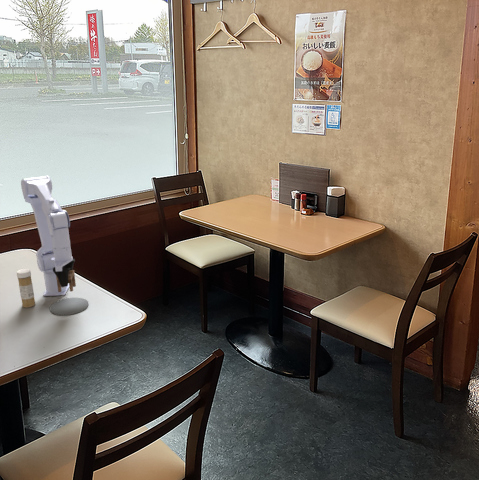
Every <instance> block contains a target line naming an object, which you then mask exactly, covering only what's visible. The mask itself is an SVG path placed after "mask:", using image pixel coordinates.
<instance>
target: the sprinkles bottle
mask: <svg viewBox="0 0 479 480" xmlns="http://www.w3.org/2000/svg"><path fill="white" fill-rule="evenodd" d="M16 276H17V281H18V286H19V287H18V288H19V293H20V298H21V306H22V307H23V308H32V307H34V306H35V305H36V300H35V293H34V287H33V286H34V285H33V282H32V271H31V269H29V268H21V269H18V270H17V271H16Z"/></svg>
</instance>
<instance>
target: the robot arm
mask: <svg viewBox="0 0 479 480" xmlns="http://www.w3.org/2000/svg"><path fill="white" fill-rule="evenodd" d="M20 186H21V191H22V196H23V199H24V202H25V203H28V204H30V205H31V208H32V211H33V215H34V219H35V223H36V227H37V230H38V231H37V232H38V235H39V238H40V242H41V243H40V244H41V247H40V248H39V249H37V251H36V254H35V257H36V262H37V267H38V269H39V271H40V272H41V273H43V277H44V284H45V285H44V286H45V291H44V293H42V294H43V295H42V296H43V297H51V296H52V297H53V296H65V295H66V294H67V292H68V290H69V289H70V287H69V283H68V275H69V270H74V269H73V268H74V266H75V265H74V264H75V262H76V260H75V258H73V256H72V254H73V253H72V249H71V247H72V246H71V239H70V234H69V233H70V232H69V231H70V230H69V228H70V227H71V219H70V216H69V213H68V211H67V210H65V209H62V207H61V205H60V203H59V202H58V200H57V199H55V198H53V196H52V192H53V183H52V180H51V177H50V176H49V175H44V176H36V177H27V178H22V179H21V180H20ZM56 276H57V278H58V280H59V282H60V285H61V290H62V291H61V292H58V286H57V280H56Z"/></svg>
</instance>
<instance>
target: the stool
mask: <svg viewBox="0 0 479 480" xmlns="http://www.w3.org/2000/svg"><path fill="white" fill-rule="evenodd" d="M56 280H57V286H58V292H61V291H62V290H61V285H60V282H59V280H58V278H57V276H56ZM68 284H69V292H73V291H74V287H76V286H77V283H76V276H75V269H72V270H69V275H68Z"/></svg>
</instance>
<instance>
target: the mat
mask: <svg viewBox="0 0 479 480" xmlns="http://www.w3.org/2000/svg"><path fill="white" fill-rule="evenodd" d="M88 307H89V301H88V299H86V298H82V297H68V298H67V297H66V298H62V299H60V300H57V301H55V302H53V303H52V304H51V305H50V307H49V310H50V312H51V314H53V315H57V316H70V315H75V314H78V313H81V312H83V311H85V310H86V309H88Z"/></svg>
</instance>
